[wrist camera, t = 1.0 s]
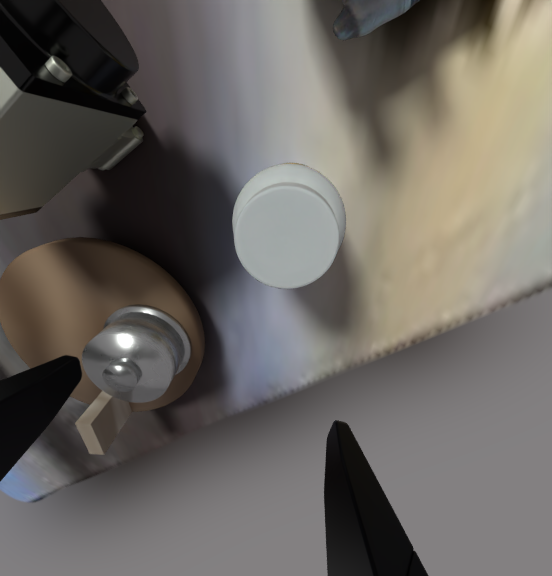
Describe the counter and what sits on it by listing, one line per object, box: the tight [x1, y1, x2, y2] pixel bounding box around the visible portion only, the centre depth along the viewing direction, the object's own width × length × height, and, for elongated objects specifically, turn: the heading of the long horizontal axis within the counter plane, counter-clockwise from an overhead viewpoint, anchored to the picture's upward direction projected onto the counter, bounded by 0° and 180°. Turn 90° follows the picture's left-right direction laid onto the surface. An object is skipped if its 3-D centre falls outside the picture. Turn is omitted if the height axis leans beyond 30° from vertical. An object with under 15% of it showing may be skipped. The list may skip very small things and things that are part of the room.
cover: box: [82, 304, 192, 403], centre depth 20 cm, size 7×7×4 cm
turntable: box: [0, 237, 205, 455], centre depth 20 cm, size 16×16×5 cm
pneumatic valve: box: [0, 0, 146, 220], centre depth 12 cm, size 6×12×12 cm, turn 123°
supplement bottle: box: [232, 163, 346, 289], centre depth 14 cm, size 5×5×10 cm
